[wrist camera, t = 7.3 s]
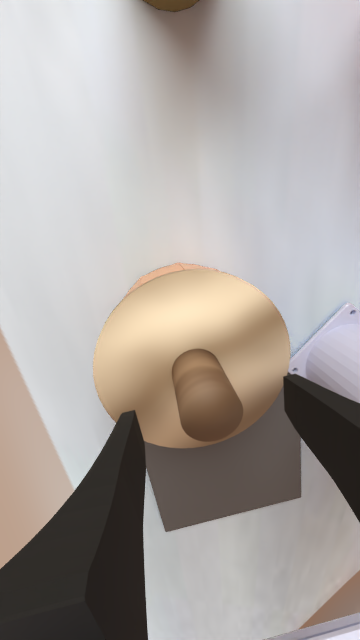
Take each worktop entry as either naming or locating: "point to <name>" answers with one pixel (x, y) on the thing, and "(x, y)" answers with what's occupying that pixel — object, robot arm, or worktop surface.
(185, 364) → the lid
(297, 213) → the worktop surface
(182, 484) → the mat
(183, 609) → the worktop surface
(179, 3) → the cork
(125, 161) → the worktop surface
